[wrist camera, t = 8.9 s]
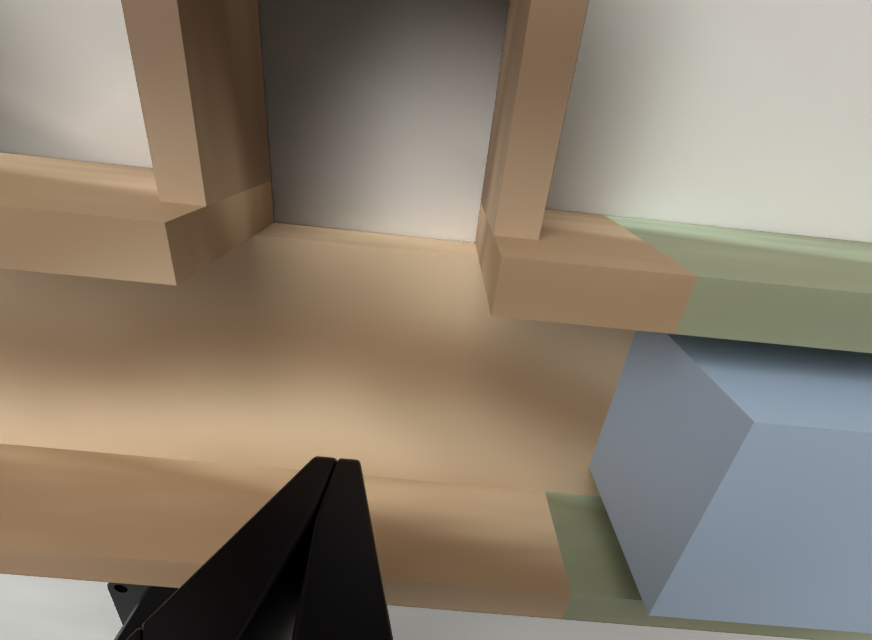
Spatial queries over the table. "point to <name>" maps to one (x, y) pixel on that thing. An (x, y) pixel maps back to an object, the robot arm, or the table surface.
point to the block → (742, 480)
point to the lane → (353, 342)
